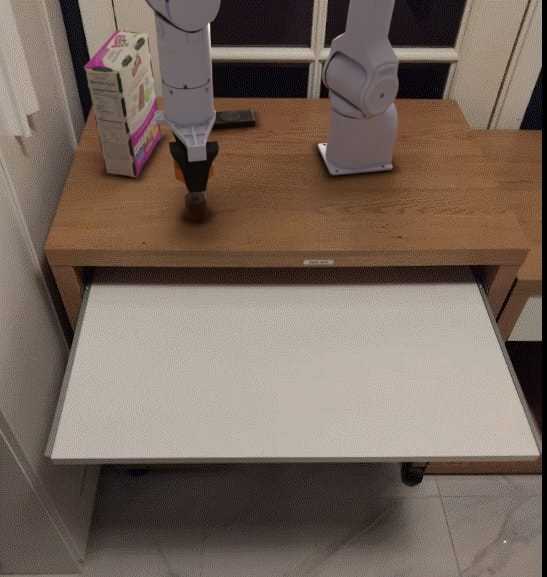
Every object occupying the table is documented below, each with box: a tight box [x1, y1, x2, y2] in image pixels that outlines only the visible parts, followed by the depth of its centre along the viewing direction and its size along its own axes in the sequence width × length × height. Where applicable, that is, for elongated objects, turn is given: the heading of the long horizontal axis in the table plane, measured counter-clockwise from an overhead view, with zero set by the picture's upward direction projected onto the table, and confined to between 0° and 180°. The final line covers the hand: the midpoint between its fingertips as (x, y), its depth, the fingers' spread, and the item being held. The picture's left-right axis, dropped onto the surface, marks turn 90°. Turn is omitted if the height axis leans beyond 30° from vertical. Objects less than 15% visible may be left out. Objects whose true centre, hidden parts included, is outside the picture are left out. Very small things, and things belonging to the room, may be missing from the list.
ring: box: [172, 158, 215, 184], centre depth 80 cm, size 5×5×2 cm
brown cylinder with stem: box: [184, 192, 208, 222], centre depth 83 cm, size 3×3×6 cm
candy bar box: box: [83, 30, 162, 179], centre depth 89 cm, size 11×5×16 cm, turn 168°
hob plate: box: [211, 108, 256, 130], centre depth 101 cm, size 8×4×1 cm, turn 102°
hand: (194, 177), depth 81 cm, fingers closed on ring, 5 cm apart
